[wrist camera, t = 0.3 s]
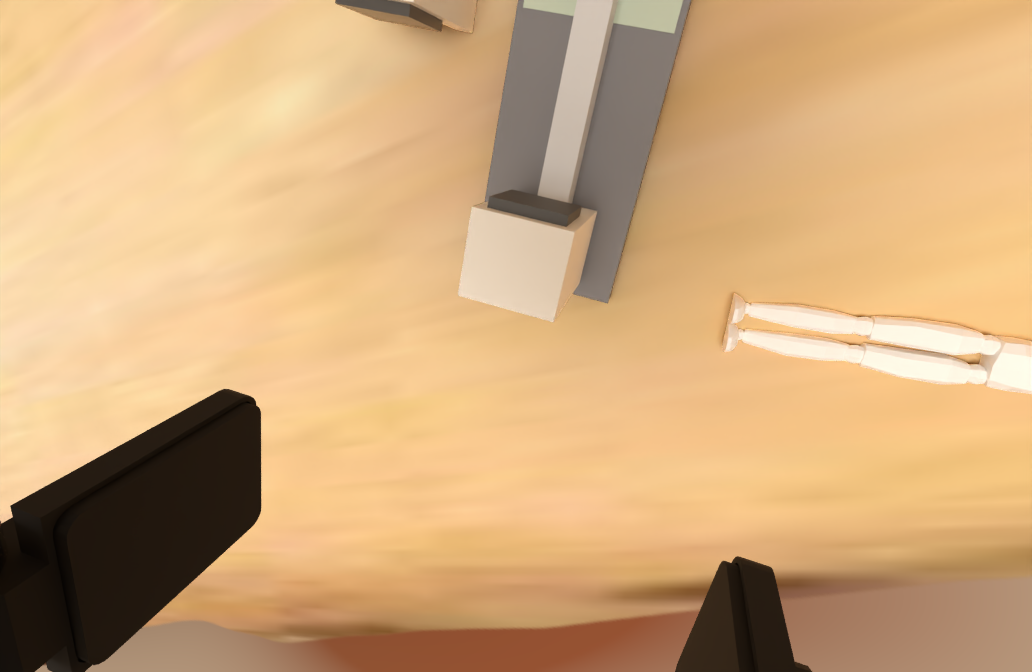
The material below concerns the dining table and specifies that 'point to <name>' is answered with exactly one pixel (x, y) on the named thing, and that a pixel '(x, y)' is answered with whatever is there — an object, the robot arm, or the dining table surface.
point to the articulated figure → (998, 368)
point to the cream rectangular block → (418, 12)
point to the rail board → (606, 136)
